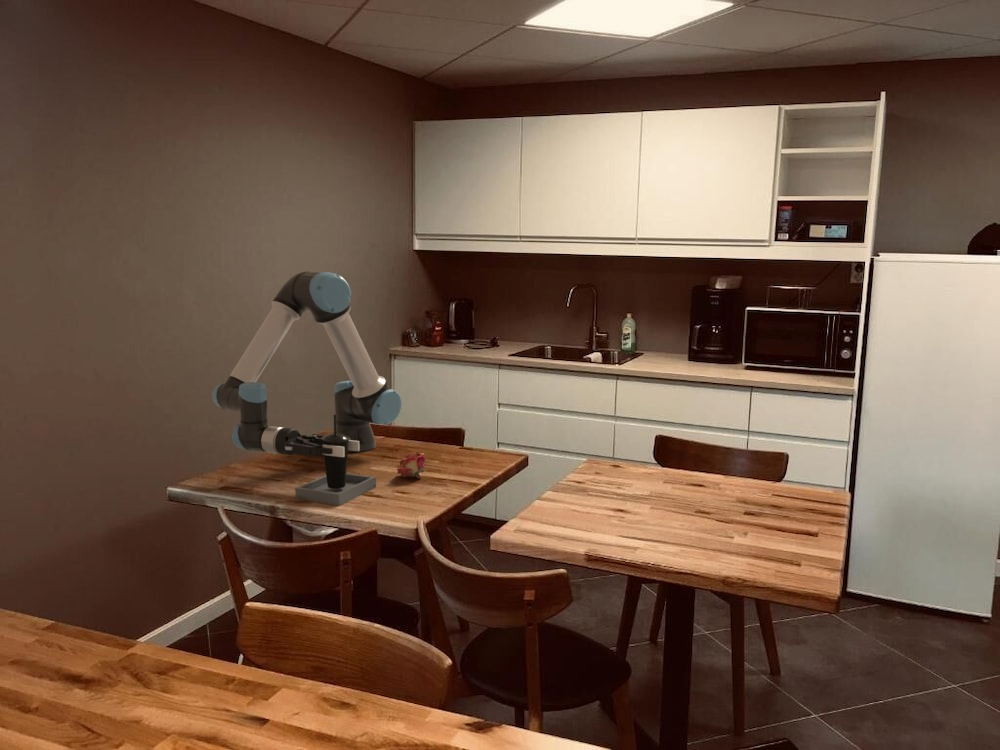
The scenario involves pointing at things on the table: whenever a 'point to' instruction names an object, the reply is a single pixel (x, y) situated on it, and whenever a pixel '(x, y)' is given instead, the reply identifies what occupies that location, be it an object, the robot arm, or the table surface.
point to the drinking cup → (336, 459)
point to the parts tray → (339, 496)
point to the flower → (412, 465)
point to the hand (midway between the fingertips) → (351, 449)
